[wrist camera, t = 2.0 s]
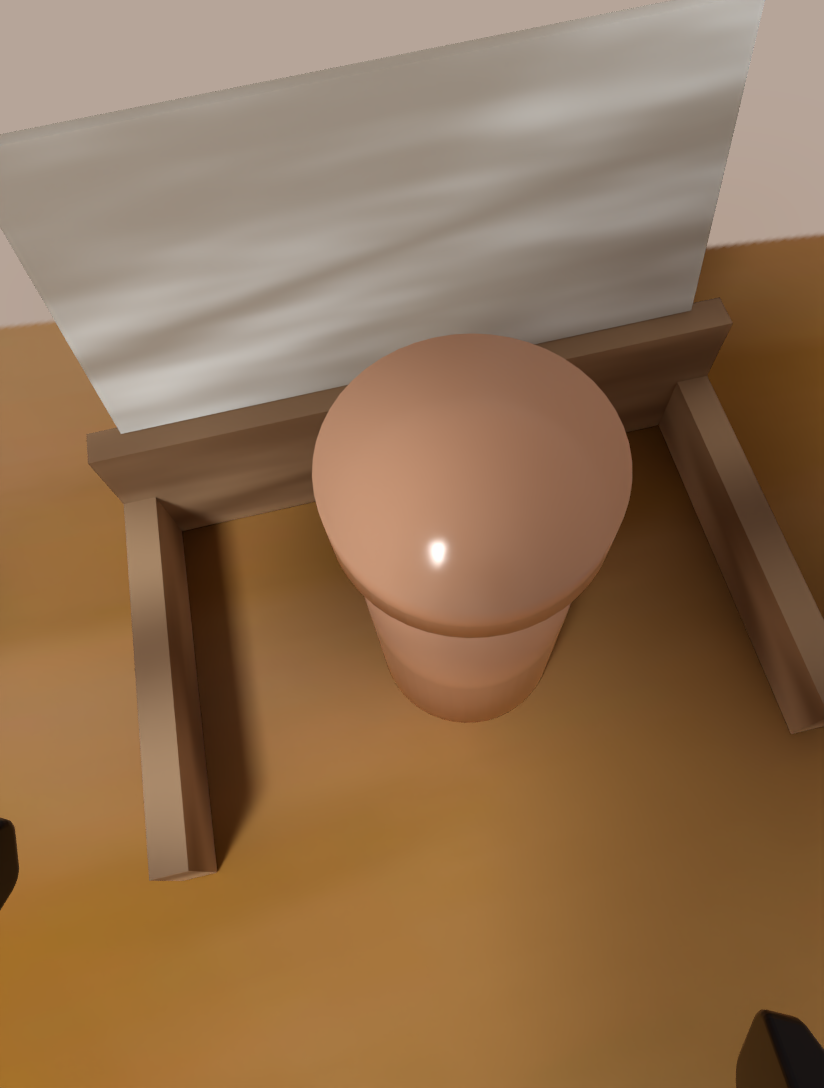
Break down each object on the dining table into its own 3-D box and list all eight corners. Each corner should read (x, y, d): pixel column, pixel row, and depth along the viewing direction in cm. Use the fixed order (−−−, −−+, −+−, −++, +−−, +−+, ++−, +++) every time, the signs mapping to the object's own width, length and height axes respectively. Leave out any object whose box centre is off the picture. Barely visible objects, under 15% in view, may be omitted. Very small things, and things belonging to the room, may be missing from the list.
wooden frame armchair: (823, 726, 22) (1238, 547, 10) (182, 880, 21) (-156, 877, 10) (653, 348, 28) (795, -39, 16) (146, 459, 27) (-91, 137, 15)
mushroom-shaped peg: (583, 708, 23) (681, 567, 13) (395, 752, 22) (342, 646, 12) (529, 537, 25) (574, 306, 15) (358, 577, 25) (290, 368, 15)
